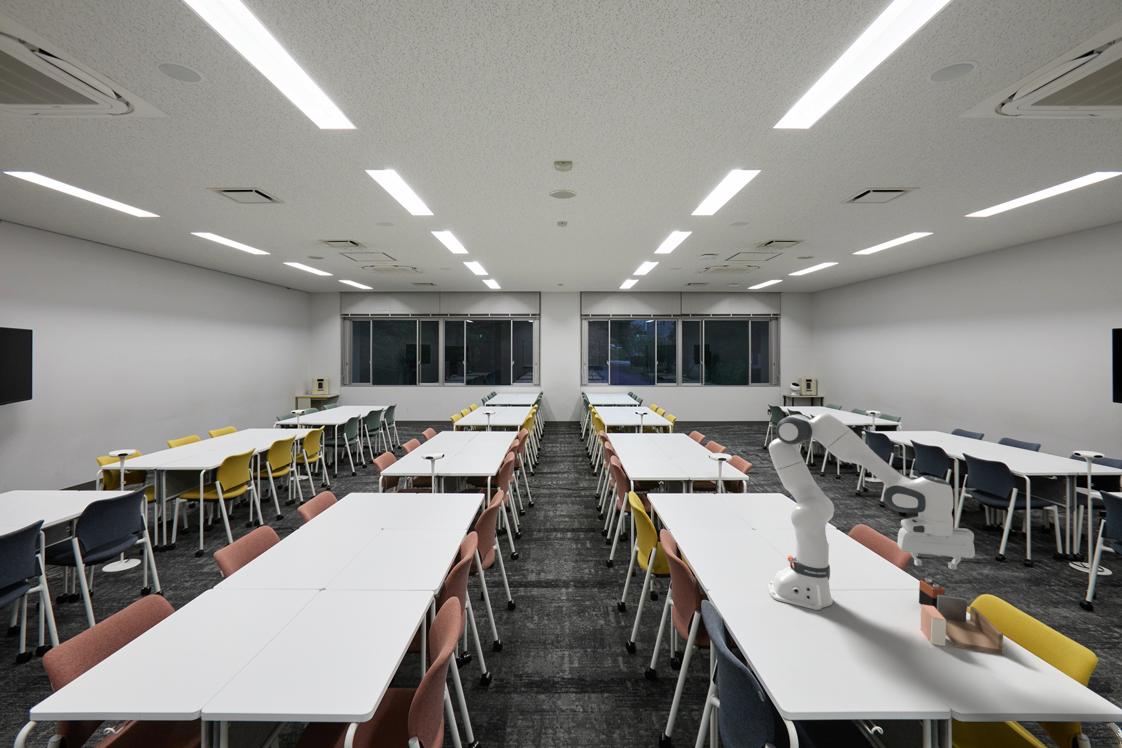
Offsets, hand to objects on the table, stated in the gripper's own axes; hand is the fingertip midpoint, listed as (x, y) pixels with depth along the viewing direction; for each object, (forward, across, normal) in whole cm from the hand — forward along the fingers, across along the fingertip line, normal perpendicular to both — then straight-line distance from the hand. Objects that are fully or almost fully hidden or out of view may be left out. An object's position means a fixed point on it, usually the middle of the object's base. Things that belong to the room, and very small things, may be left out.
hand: (934, 567), depth 146 cm
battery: (+24, -8, -20) cm, 33 cm away
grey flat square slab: (+23, -10, -11) cm, 27 cm away
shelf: (+24, -10, -4) cm, 27 cm away
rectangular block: (+24, +1, 0) cm, 24 cm away
